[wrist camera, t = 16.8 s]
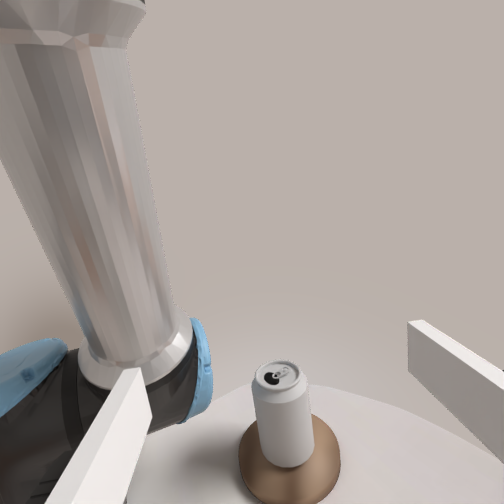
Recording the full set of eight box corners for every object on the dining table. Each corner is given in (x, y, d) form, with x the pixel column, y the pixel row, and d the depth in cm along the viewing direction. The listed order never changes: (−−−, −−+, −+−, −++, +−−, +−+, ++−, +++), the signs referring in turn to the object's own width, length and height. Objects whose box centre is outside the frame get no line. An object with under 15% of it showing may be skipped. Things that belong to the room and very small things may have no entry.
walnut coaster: (242, 521, 33) (240, 510, 32) (238, 425, 46) (237, 417, 46) (359, 497, 33) (358, 487, 33) (321, 410, 47) (320, 402, 47)
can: (253, 438, 42) (242, 366, 39) (298, 418, 44) (289, 349, 42) (275, 483, 35) (262, 399, 32) (326, 457, 37) (317, 377, 35)
